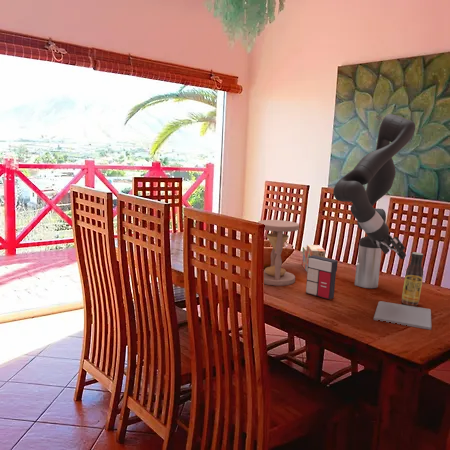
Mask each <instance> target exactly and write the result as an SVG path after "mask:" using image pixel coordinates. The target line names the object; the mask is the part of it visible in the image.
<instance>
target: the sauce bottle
mask: <svg viewBox="0 0 450 450" xmlns="http://www.w3.org/2000/svg"><path fill="white" fill-rule="evenodd" d="M410 256H411V259H410V263H409V265H408V267H406V269H405V276H404V281H403V287H402V295H401V303H402V305H408V306H414V307H418V305H419V302H420V297H421V292H422V287H423V286H422V285H423V279H424V272H425V271H424V269H423V267H422V262H423V258H424V253H421V252H417V251H416V252H415V251H413V252H411V255H410Z"/></svg>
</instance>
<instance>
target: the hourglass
mask: <svg viewBox="0 0 450 450" xmlns="http://www.w3.org/2000/svg"><path fill="white" fill-rule="evenodd" d="M258 223H262V224H264V225H265V230H264V231H269V233H267V234H266V238H267V239H268V241H269V243H270V245H271V246H272V247H271V248H272V250H271V252H270V266H267V267H265V269H263V270H264V285H267V286H268V285H269V286H278V287H280V286H281V287H282V286H283V287H284V286H289V285H293V284H295V282H296V275H294V273H291V272H289V271H286V269H285V268H284V267H282V265H283V261H282V256H281V255H282V252H283V250H284V244H285V243H286V242H287V240H288V239H289V237H290V236H289V234H285V233H287V232H289V233H290V232H291V233H292V232H297V231H299V228H300V224H299V223H297V222H294V221H289V220H280V219H264V220H263V219H262V220H258V221H257V224H258ZM270 232H271V233H270Z"/></svg>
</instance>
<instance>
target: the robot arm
mask: <svg viewBox="0 0 450 450" xmlns="http://www.w3.org/2000/svg"><path fill="white" fill-rule="evenodd" d="M415 131H416V124H415V122H414V121H412V120H411V119H408V118H405V117H402V116H399V115H397V114H393V113H388V114H386V115H385V116H384V117H383V119H382V121H381V122H380V126H379V131H378V135H377V141H376V148H375V150H374V151H371V152H369V153H367V154H366V155H364V156H363V157H361V159H360V160H359V162H358V163H357V164H356V165H355V167H354V168H353V169H352V170H351V171H349V172H348V173H346V174H345V175H344V176H343V177H342V178H341V177H340V179H339V180H338V181H337V183H335V185H334V188H333V197H334V198H335V200H337V201H338V202H343V203H345V202H347V203H348V202H350V203H351V205H350V212H351V214H352V216H353V217H354V218H355V220H356V224H357V227H358V228H359V229H360V230H363V232H364V233H365V234H366V236H363V237H360V239H359V242H358V243H359V244H358V253H357V254H358V255H357V261H356V266H355V278H354V286H356V287H360V288H365V289H377V288H378V287H379V278H380V269H381V259H382V253H384V254H385V255H387V254H388V253H389V252H390V250H391V251H392V250H393V251H394V252H395V253H396V255H397V256H398V258H399V259H400V260H404V259H405V258H406V256H407V254H406V253H405V252H404V250H405V249H406V247H405V246H404V244H403V243H402V241H401V240H400V239H399V237H397V236H394V237H392V235H391V234H390V232H389V231H390V229H389V226H388V224H387V221H386V220H387V214H386V211H385V209H384V208H374V205H375V204H376V203H377V202H378V201H380V199H381V198H382V197H384V196H385V195H386V194H388V192H390V190H391V189H392V187H393V183H394V181H395V178H396V166H395V163H394V160H393V157H394V156H395V155H396V154H398V152H400V151H401V150H402V149H403V148H404V147H405V146H406V145H407V144H408V143H409V142H410V140H411V139H412V137H413V136H414V133H415ZM364 185H366V188H365V187H364ZM391 245H392V246H391Z"/></svg>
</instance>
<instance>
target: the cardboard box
mask: <svg viewBox="0 0 450 450" xmlns="http://www.w3.org/2000/svg"><path fill="white" fill-rule="evenodd" d="M313 255H315V256H320V257H324V258H326V250H325V249H324V248H323V247H322V246H321V245H319V244H306V246H303V247H302V257H301V258H302V260H301V265H302V267H303V269H304V270H305V271H306V272H307V270H308V257H309V256H313Z"/></svg>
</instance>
